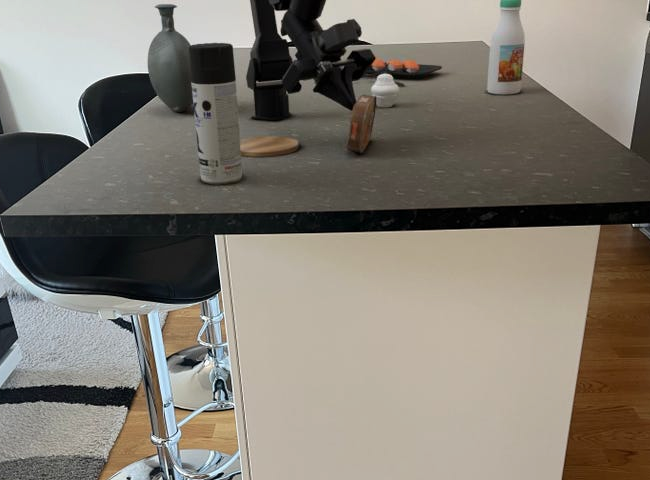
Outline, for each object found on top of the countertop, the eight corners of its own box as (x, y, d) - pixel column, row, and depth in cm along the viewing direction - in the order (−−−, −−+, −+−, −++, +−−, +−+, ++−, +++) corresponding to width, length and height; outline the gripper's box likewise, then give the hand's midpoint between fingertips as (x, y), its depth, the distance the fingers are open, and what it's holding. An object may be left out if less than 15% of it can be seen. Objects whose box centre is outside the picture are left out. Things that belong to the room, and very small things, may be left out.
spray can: (202, 174, 126) (188, 43, 116) (243, 172, 126) (233, 41, 117) (199, 186, 120) (185, 48, 110) (243, 183, 120) (232, 46, 111)
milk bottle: (483, 94, 180) (490, 0, 170) (490, 88, 186) (496, -3, 176) (517, 95, 177) (525, 0, 167) (522, 90, 183) (531, -3, 174)
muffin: (374, 109, 168) (375, 75, 165) (367, 104, 173) (367, 71, 170) (402, 107, 169) (402, 74, 166) (394, 102, 174) (394, 69, 171)
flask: (207, 102, 181) (196, -1, 170) (200, 117, 166) (189, 5, 156) (157, 105, 181) (144, 1, 170) (146, 120, 166) (131, 8, 155)
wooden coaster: (219, 153, 138) (219, 148, 138) (254, 138, 147) (254, 134, 147) (277, 159, 133) (277, 154, 133) (310, 143, 142) (310, 139, 142)
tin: (358, 158, 132) (369, 109, 127) (340, 154, 132) (351, 104, 128) (371, 138, 145) (381, 92, 140) (355, 134, 145) (365, 88, 140)
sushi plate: (445, 73, 208) (446, 58, 206) (394, 91, 186) (394, 75, 184) (353, 67, 222) (352, 53, 220) (294, 84, 200) (293, 68, 198)
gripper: (290, 7, 125) (340, 85, 123) (367, -1, 136) (414, 70, 135) (261, 56, 134) (308, 129, 132) (337, 44, 145) (380, 111, 143)
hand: (354, 109), depth 135 cm, fingers closed
